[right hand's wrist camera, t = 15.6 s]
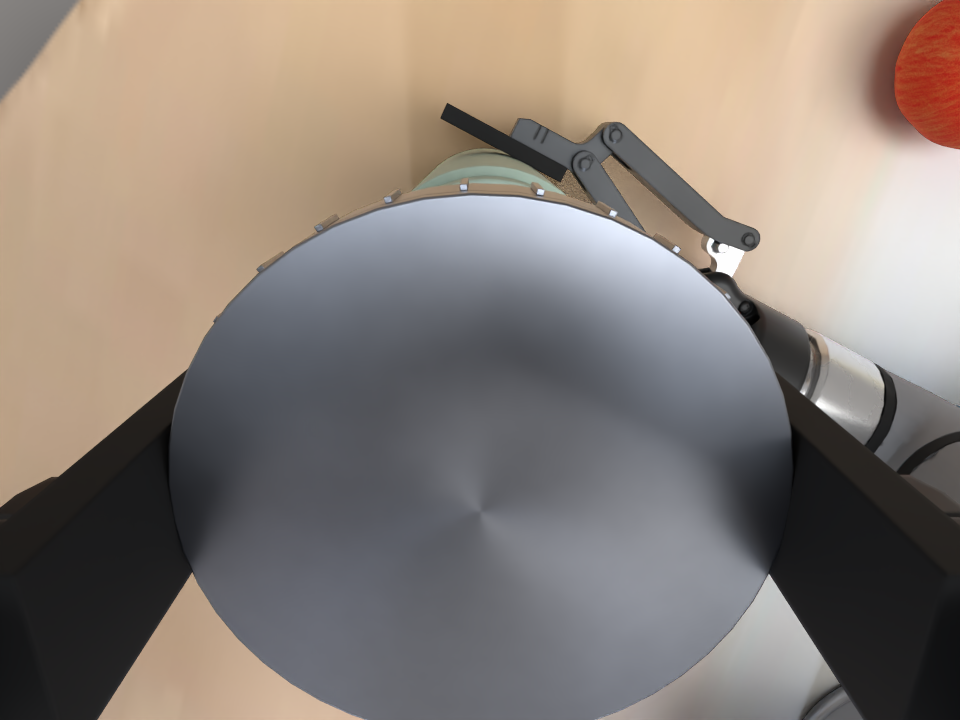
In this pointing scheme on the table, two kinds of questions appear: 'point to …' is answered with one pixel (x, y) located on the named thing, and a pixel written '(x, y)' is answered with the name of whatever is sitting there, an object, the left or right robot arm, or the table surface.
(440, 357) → the lid
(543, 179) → the jar
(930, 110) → the apple
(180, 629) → the table surface
